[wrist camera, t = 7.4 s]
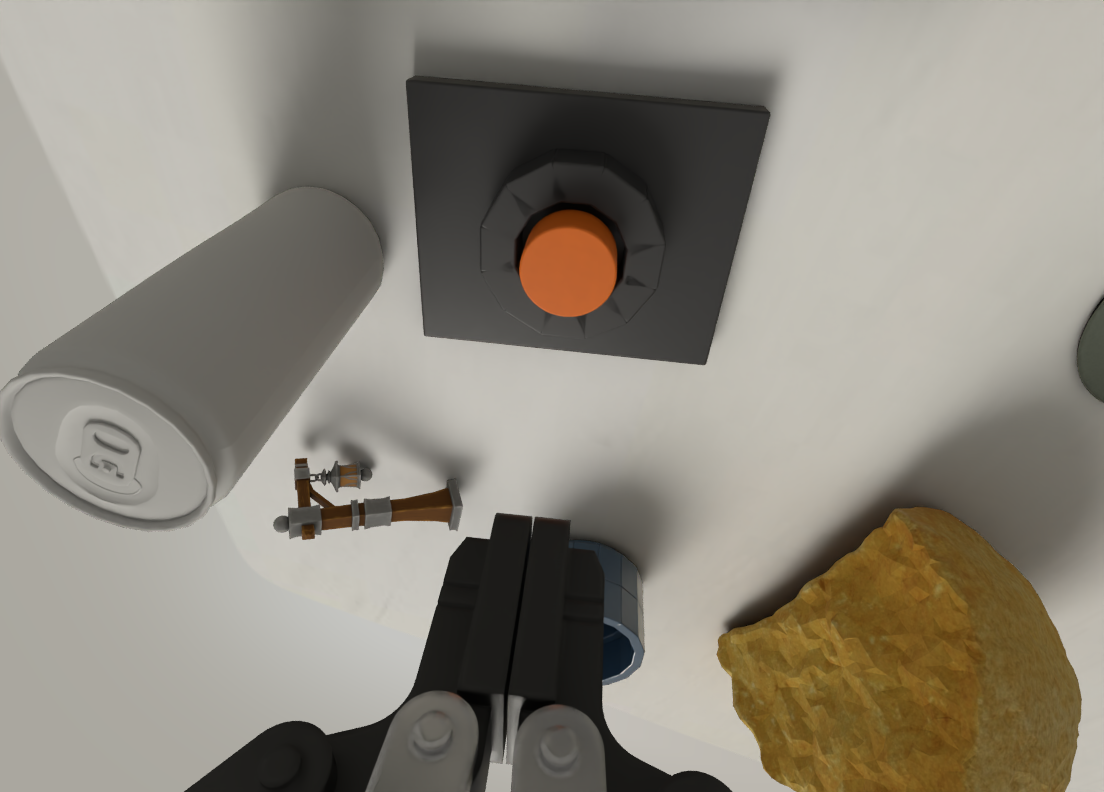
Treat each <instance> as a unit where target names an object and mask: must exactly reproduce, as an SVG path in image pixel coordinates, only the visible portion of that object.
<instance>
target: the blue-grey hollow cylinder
mask: <svg viewBox="0 0 1104 792" xmlns="http://www.w3.org/2000/svg"><path fill="white" fill-rule="evenodd" d="M568 548H575V549H585V550H594V551H595V553H596V555H597V557H598V559H599V562H600V564H601V566H602V569H603V571H604V573H605V586H604V622H603V625H604V634H603V683H602V685H609V684H612V683H614V682H617V681H620V680H623V679H626V678H627V677H629V676H630V675H631V674H632V673H633V672H635V671H636V670H637V669H638V668H639V667H640V666H641V663H642V660H643V656H644V653H645V645H644V616H643V585H642V580H641V577H640V575H639V572H638V570H637V567H636V566H635V565H634V564H633V563H632V562H630V561H629V560H628V559H627V558H626V557H625V556H624V555H623V554H621V553H619V552H618V551H616V550H614V549H613V548H611V547H609V546H607V545H604V544H601V543H597V542H593V541H587V540H569V547H568Z"/></svg>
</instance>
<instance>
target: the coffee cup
mask: <svg viewBox="0 0 1104 792" xmlns="http://www.w3.org/2000/svg"><path fill="white" fill-rule="evenodd" d="M1077 367H1078V372H1079V375H1080V378H1081V380H1082V382H1083V384H1084V386H1085V387H1086V389H1087V390H1088V391H1089V392H1090V393H1091V394H1092V395H1093V396H1094V397H1096V398H1097V399H1098V400H1100V401H1101V402H1103V403H1104V298H1103V299H1102V300H1101V301H1100V303H1099V304H1098V305H1097V307H1096V308H1095V310H1094V311H1093V313H1092V315H1091V316H1090V318H1089V320H1088V322H1087V324H1086V326H1085V328H1084V330H1083V333H1082V335H1081V338H1080V341H1079V345H1078V351H1077Z"/></svg>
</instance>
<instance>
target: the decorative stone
mask: <svg viewBox="0 0 1104 792" xmlns="http://www.w3.org/2000/svg"><path fill="white" fill-rule="evenodd" d="M718 646H719V648H718V651H717V657H718V659H719V662H720V664H721V666H722V668H723V669H724V670H725V671H726V672H727V673H728V674H729V675H730V676H731V677H732V690H733V707H734V708H735V710H736V712H737V714H738V716H739V718H740V719H741V720H742V722H743V723H744V724H745V725H746V726H747V727H748V728H749V729H750V730H751V732H752V733H753V734H754V737H755V739H756V741H757V743H758V745H759V748H760V752H761V761H762V764H763V768H764V770H765V771H766V772H767V773H768V774H769V775H770V776H771V778H773V779H774V780H776V781H777V782H779V783H781V784H783V785H785V786H788V787H790V788H791V789H793V790H794V791H796V792H1065V790H1066V788H1067V786H1068V784H1069V782H1070V778H1071V769H1072V764H1073V760H1074V756H1075V753H1076V749H1077V738H1078V736H1079V733H1078V724H1079V722H1080V719H1081V701H1082V699H1081V694H1080V689H1079V683H1078V679H1077V677H1076V674H1075V672H1074V669H1073V667H1072V665H1071V664H1070V662H1069V660H1068V659H1067V656H1066V651H1065V649H1064V647H1063V644H1062V641H1061V639H1060V636H1059V634H1058V631H1057V629H1056V628H1055V626H1054V624H1053V623H1052V621H1051V619H1050V618H1049V616H1048V613H1047V611H1046V609H1045V607H1044V605H1043V603H1042V601H1041V599H1040V598H1039V596H1038V594H1037V593H1036V591H1035V590H1034V588H1033V587H1032V585H1031V584H1030V582H1029V581H1028V580H1027V579H1026V578H1025V577H1024V576H1023V575H1022V574H1021V573H1020V572H1019V571H1018V570H1017V569H1016V568H1015V567H1014V566H1013V565H1012V564H1011V563H1010V562H1009V561H1007V560H1006V559H1005V558H1004V557H1002V556H1001V555H1000V554H998V553H997V552H996V551H995V550H994V549H993V548H992V546H991V545H990V544H989V543H988V542H987V541H986V540H985V539H984V538H982V537H981V536H980V535H979V534H978V533H977V532H976V531H975V530H973V529H972V528H970V527H969V526H967V525H966V524H964V523H963V522H961V521H960V520H959V519H957V518H956V517H954V516H953V515H951V514H950V513H947V512H945V511H942V510H939V509H932V508H927V507H914V508H905V509H894V510H893V512H892V513H891V514H890V515H889V517H888V519H887V521H886V522H885V524H884V525H883V527H880V528H876V529H874V530H873V531H872V532H871V533H870V534H869V535H868V536H867V537H866V539H865V540H864V541H863V543H862V544H861V546H860V547H859V548H857V549H856V550H855V551H854V552H851V553H847V554H846V555H845V556H844V557H842V558H841V559H839V560H838V561H836V562H835V563H834V565H833V566H832V567H831V568H830V569H829V570H828V571H827V572H826V573H824V574H822V575H820V576H818V577H816V578H814V579H813V580H811V581H809V582H807V583H806V584H805V585H804V586H803V587H802V589H801V590H800V592H799V593H798V595H797V597H796V598H795V599H793V600H792V601H791V602H789V603H787V604H786V605H784V606H782V607H781V608H780V609H778V610H777V611H776V612H775V613H774V614H773V616H770V617H767V618H764V619H763V620H761V621H759V622H757V623H755V624H753V625H748V626H745V627H739V628H734V629H732V630H731V631H729V632H728V633H724V634H722V635H721V636H720V637H719V639H718Z"/></svg>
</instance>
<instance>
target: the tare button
mask: <svg viewBox="0 0 1104 792" xmlns="http://www.w3.org/2000/svg"><path fill="white" fill-rule="evenodd" d="M519 275H520V280H521V284H522V286H523V288H524V291H525V292H526V294H527V295H528V297H529V298H530V299H531V300H532V301H533V302H534V303H535V304H536V305H537V306H538V307H540V308H541V309H543V310H544V311H546V312H549V313H551V314H554V315H558V316H563V317H575V316H581V315H584V314H587V313H590V312H592V311H594V310H595V309H597V308H598V307H600V306H601V305H602V304H603V303H604V302H605V301H606V300H607V299H608V298H609V296H610V295H611V293H612V291H613V289H614V286H615V283H616V279H617V247H616V242H615V239H614V237H613V235H612V233H611V231H610V230H609V228H608V227H607V226H606V225H605V224H604V223H603V222H602V221H601V220H600V219H598V218H597V217H595V216H594V215H592V214H589V213H587V212H584V211H580V210H570V209H568V210H560V211H556V212H554V213H551V214H549V215H547V216H545V217H544V218H542V219H541V220H540V221H539V222H538V223H537V224H536V225H535V226H534V227H533V229H532V230H531V232H530V234H529V236H528V238H527V241H526V244H525V247H524V250H523V253H522V256H521V260H520V265H519Z"/></svg>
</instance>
